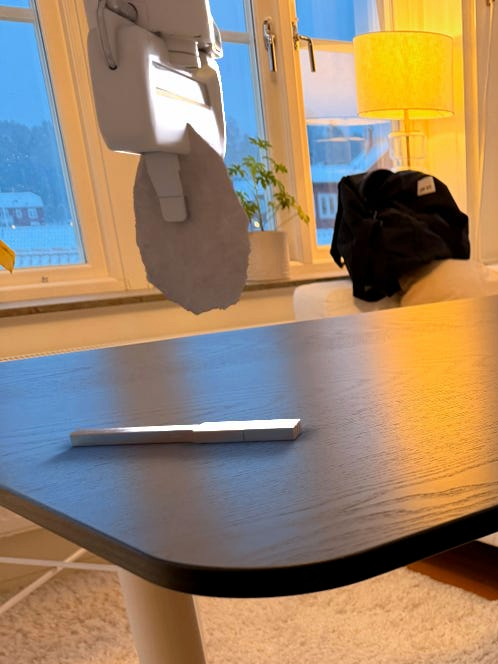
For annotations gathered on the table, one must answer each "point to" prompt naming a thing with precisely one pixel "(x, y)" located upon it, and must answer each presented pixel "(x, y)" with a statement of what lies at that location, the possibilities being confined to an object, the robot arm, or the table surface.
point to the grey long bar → (191, 433)
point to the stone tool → (195, 233)
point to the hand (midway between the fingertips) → (184, 221)
